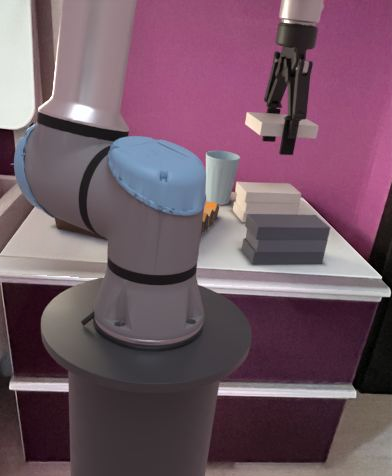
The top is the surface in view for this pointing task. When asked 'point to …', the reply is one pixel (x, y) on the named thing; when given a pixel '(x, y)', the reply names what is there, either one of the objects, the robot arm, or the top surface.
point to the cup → (220, 175)
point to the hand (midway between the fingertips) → (277, 147)
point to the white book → (278, 125)
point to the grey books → (285, 239)
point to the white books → (265, 199)
